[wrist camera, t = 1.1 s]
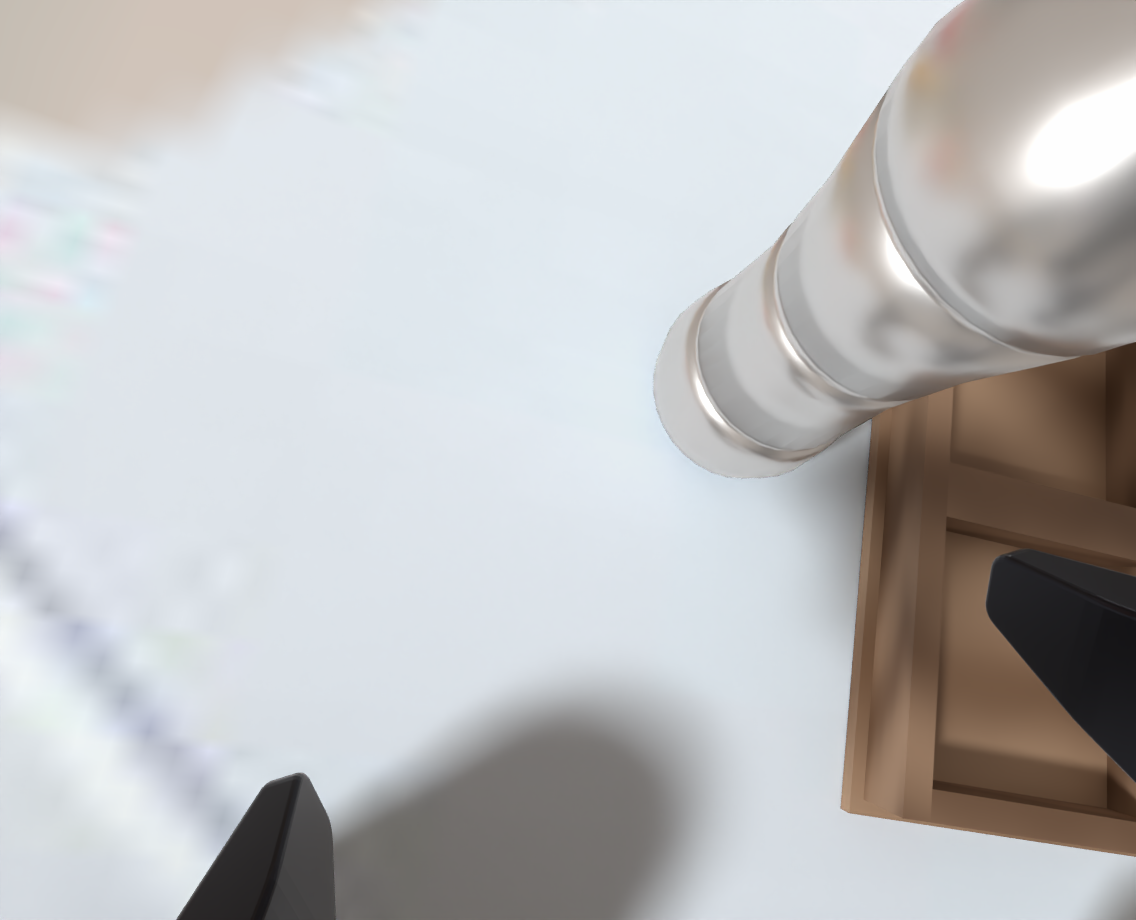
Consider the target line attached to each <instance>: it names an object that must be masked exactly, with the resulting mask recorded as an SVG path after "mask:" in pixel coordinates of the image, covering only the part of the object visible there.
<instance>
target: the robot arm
mask: <svg viewBox="0 0 1136 920" xmlns="http://www.w3.org/2000/svg"><path fill="white" fill-rule="evenodd" d="M985 606H986V611H987V614H988V616H989V618H990V620H991V621H992V623H993V624H994V625H995V627H996V628H997V629H998V630H999V631H1000V633H1001V634H1002V635H1003V636H1004V637H1005V639H1006V640H1007V641H1008V642H1009V643H1010V645H1011V646H1012V647H1013V648H1014V649H1015V651H1016V652H1017V653H1018V654H1019V655H1020V657H1021V658H1022V659H1023V660H1024V661H1025V663H1026V664H1027V665H1028V666H1029V667H1030V669H1031V670H1032V671H1033V672H1034V673H1035V675H1036V676H1037V677H1038V678H1039V680H1040V681H1041V682H1042V683H1043V684H1044V686H1045V687H1046V688H1047V689H1048V690H1049V692H1050V693H1051V694H1052V695H1053V696H1054V698H1055V699H1056V700H1057V701H1058V702H1059V704H1060V705H1061V706H1062V707H1063V708H1064V709H1065V710H1066V712H1067V713H1068V714H1069V715H1070V716H1071V717H1072V718H1073V720H1074V721H1075V722H1076V723H1077V724H1078V725H1079V726H1080V727H1081V728H1082V729H1083V730H1084V731H1085V732H1086V733H1087V734H1088V735H1089V736H1090V737H1091V738H1092V739H1093V741H1094V742H1095V743H1096V744H1097V745H1098V746H1099V747H1100V748H1101V749H1102V750H1103V751H1104V752H1105V753H1106V754H1107V755H1108V756H1109V757H1110V758H1111V759H1112V760H1113V761H1114V762H1115V763H1116V764H1117V765H1118V766H1119V767H1120V768H1121V769H1122V770H1123V771H1124V772H1125V773H1126V774H1127V775H1128V776H1129V777H1130V778H1131V779H1132V780H1133V781H1134V782H1135V783H1136V576H1132V575H1128V574H1125V573H1121V572H1117V571H1113V570H1109V569H1106V568H1102V567H1098V566H1094V565H1091V564H1087V563H1083V562H1079V561H1075V560H1072V559H1068V558H1064V557H1060V556H1056V555H1053V554H1049V553H1045V552H1041V551H1037V550H1034V549H1027V548H1024V549H1018V550H1015V551H1012V552H1009V553H1005V554H1002V555H999V556H998V557H996V558H995V559H994V561H993V562H992V566H991V571H990V577H989V583H988V589H987V595H986V601H985ZM176 920H336V916H335V889H334V863H333V838H332V829H331V824H330V820H329V817H328V815H327V813H326V811H325V809H324V807H323V805H322V803H321V801H320V799H319V797H318V795H317V793H316V791H315V789H314V787H313V785H312V783H311V781H310V779H309V778H308V776H307V775H305V774H304V773H295V774H292V775H289V776H285V777H282V778H279V779H276V780H273V781H270V782H268V783H267V784H266V785H265V786H264V787H263V788H262V789H261V790H260V792H259V793H258V795H257V796H256V798H255V800H254V801H253V803H252V804H251V806H250V807H249V809H248V810H247V812H246V813H245V815H244V816H243V818H242V819H241V821H240V823H239V824H238V826H237V827H236V829H235V830H234V832H233V833H232V835H231V836H230V838H229V839H228V841H227V842H226V844H225V846H224V847H223V849H222V850H221V852H220V853H219V855H218V856H217V858H216V859H215V861H214V862H213V864H212V865H211V867H210V869H209V870H208V872H207V873H206V875H205V876H204V878H203V879H202V881H201V882H200V884H199V885H198V887H197V888H196V890H195V892H194V893H193V895H192V896H191V898H190V899H189V901H188V902H187V904H186V905H185V907H184V908H183V910H182V911H181V913H180V915H179V916H178V918H177V919H176Z"/></svg>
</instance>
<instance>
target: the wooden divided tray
mask: <svg viewBox="0 0 1136 920" xmlns="http://www.w3.org/2000/svg"><path fill="white" fill-rule="evenodd" d="M1024 548H1027V549H1034V550H1037V551H1041V552H1045V553H1049V554H1053V555H1056V556H1060V557H1064V558H1068V559H1072V560H1075V561H1079V562H1083V563H1087V564H1091V565H1094V566H1098V567H1102V568H1106V569H1109V570H1113V571H1117V572H1121V573H1125V574H1128V575H1132V576H1136V342H1134V343H1130V344H1126V345H1123V346H1120V347H1116V348H1113V349H1110V350H1107V351H1104V352H1100V353H1097V354H1094V355H1083V356H1080V357H1077V358H1074V359H1069V360H1065V361H1060V362H1056V363H1051V364H1047V365H1042V366H1038V367H1033V368H1029V369H1024V370H1020V371H1015V372H1011V373H1006V374H1002V375H997V376H993V377H988V378H984V379H979V380H975V381H970V382H966V383H962V384H959V385H956V386H953V387H950V388H947V389H944V390H941V391H939V392H936V393H933V394H930V395H927V396H924V397H921V398H918V399H914V400H912V401H909V402H906V403H903V404H901V405H898V406H895V407H892V408H889V409H887V410H885V411H883V412H882V413H880V414H878V415H876V416H875V417H873V418H872V428H871V441H870V453H869V465H868V478H867V490H866V502H865V515H864V527H863V539H862V552H861V564H860V576H859V588H858V601H857V613H856V625H855V638H854V650H853V662H852V675H851V687H850V699H849V711H848V724H847V736H846V748H845V761H844V773H843V785H842V798H841V809H842V810H844V811H846V812H848V813H852V814H859V815H865V816H872V817H878V818H885V819H891V820H898V821H905V822H911V823H918V824H924V825H931V826H937V827H944V828H950V829H957V830H964V831H970V832H977V833H983V834H990V835H996V836H1003V837H1009V838H1016V839H1023V840H1029V841H1036V842H1042V843H1049V844H1055V845H1062V846H1068V847H1075V848H1082V849H1088V850H1095V851H1101V852H1108V853H1114V854H1121V855H1127V856H1134V857H1136V783H1135V782H1134V781H1133V780H1132V779H1131V778H1130V777H1129V776H1128V775H1127V774H1126V773H1125V772H1124V771H1123V770H1122V769H1121V768H1120V767H1119V766H1118V765H1117V764H1116V763H1115V762H1114V761H1113V760H1112V759H1111V758H1110V757H1109V756H1108V755H1107V754H1106V753H1105V752H1104V751H1103V750H1102V749H1101V748H1100V747H1099V746H1098V745H1097V744H1096V743H1095V742H1094V741H1093V739H1092V738H1091V737H1090V736H1089V735H1088V734H1087V733H1086V732H1085V731H1084V730H1083V729H1082V728H1081V727H1080V726H1079V725H1078V724H1077V723H1076V722H1075V721H1074V720H1073V718H1072V717H1071V716H1070V715H1069V714H1068V713H1067V712H1066V710H1065V709H1064V708H1063V707H1062V706H1061V705H1060V704H1059V702H1058V701H1057V700H1056V699H1055V698H1054V696H1053V695H1052V694H1051V693H1050V692H1049V690H1048V689H1047V688H1046V687H1045V686H1044V684H1043V683H1042V682H1041V681H1040V680H1039V678H1038V677H1037V676H1036V675H1035V673H1034V672H1033V671H1032V670H1031V669H1030V667H1029V666H1028V665H1027V664H1026V663H1025V661H1024V660H1023V659H1022V658H1021V657H1020V655H1019V654H1018V653H1017V652H1016V651H1015V649H1014V648H1013V647H1012V646H1011V645H1010V643H1009V642H1008V641H1007V640H1006V639H1005V637H1004V636H1003V635H1002V634H1001V633H1000V631H999V630H998V629H997V628H996V627H995V625H994V624H993V623H992V621H991V620H990V618H989V616H988V614H987V611H986V606H985V601H986V595H987V589H988V583H989V577H990V571H991V566H992V562H993V561H994V559H995V558H996V557H998V556H999V555H1002V554H1005V553H1009V552H1012V551H1015V550H1018V549H1024Z"/></svg>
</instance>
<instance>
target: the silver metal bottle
mask: <svg viewBox="0 0 1136 920" xmlns="http://www.w3.org/2000/svg"><path fill="white" fill-rule="evenodd" d="M1134 342H1136V0H964V1H963V2H961V3H960V4H959V5H957V6H956V7H955V8H953V9H952V10H951V11H950V12H949V13H947V14H946V15H945V16H944V17H943V18H942V19H940V20H939V21H938V22H937V23H936V24H935V25H934V27H933V28H932V29H931V31H930V32H929V33H928V35H927V36H926V37H925V39H924V40H923V41H922V43H921V44H920V45H919V46H918V48H917V49H916V50H915V51H914V53H913V54H912V55H911V56H910V58H909V59H908V60H907V62H906V63H905V64H904V65H903V67H902V68H901V70H900V71H899V73H898V74H897V76H896V77H895V79H894V80H893V82H892V83H891V85H890V86H889V88H888V90H887V91H886V93H885V94H884V96H883V97H882V99H881V100H880V102H879V103H878V105H877V106H876V108H875V109H874V111H873V112H872V114H871V115H870V117H869V118H868V120H867V121H866V123H865V124H864V126H863V127H862V129H861V130H860V132H859V133H858V135H857V136H856V138H855V139H854V141H853V142H852V144H851V145H850V147H849V148H848V150H847V151H846V153H845V154H844V156H843V157H842V159H841V160H840V162H839V164H838V165H837V167H836V168H835V170H834V171H833V173H832V174H831V176H830V177H829V178H828V179H827V181H826V182H825V183H824V184H823V185H822V187H821V188H820V189H819V190H818V191H817V193H816V194H815V195H814V196H813V197H812V199H811V200H810V201H809V202H808V203H807V205H806V206H805V207H804V208H803V209H802V211H801V212H800V213H799V214H798V216H797V217H796V219H795V220H794V222H793V223H792V224H791V225H790V226H788V228H787V229H786V230H785V231H784V232H783V234H782V235H781V236H780V237H779V238H778V240H777V241H776V242H775V243H774V245H772V246H771V247H770V248H769V249H768V250H766V251H765V252H764V253H763V254H762V255H760V256H759V257H758V258H757V259H756V260H754V261H753V262H752V263H751V264H750V265H748V266H747V267H746V268H745V269H744V270H742V271H741V272H740V273H739V274H738V275H736V276H735V277H734V278H733V279H731V280H729V281H727V282H725V283H723V284H722V285H720V286H718V287H716V288H714V289H712V290H711V291H709V292H708V293H706V294H705V295H704V296H702V297H701V298H699V299H698V300H697V301H695V302H694V303H693V304H691V305H690V306H689V307H688V308H687V309H686V310H685V311H683V312H682V313H681V314H680V315H679V317H678V318H677V319H676V321H675V322H674V324H673V325H672V326H671V328H670V330H669V332H668V334H667V337H666V339H665V341H664V344H663V346H662V349H661V351H660V353H659V356H658V358H657V360H656V365H655V370H654V375H653V394H654V399H655V404H656V410H657V412H658V415H659V417H660V420H661V423H662V425H663V427H664V429H665V430H666V432H667V434H668V435H669V437H670V439H671V440H672V442H673V443H674V444H675V445H676V446H677V447H678V449H679V450H680V451H681V452H682V453H683V454H684V455H685V456H686V457H688V458H689V459H690V460H691V461H693V462H694V463H695V464H696V465H698V466H700V467H702V468H704V469H706V470H708V471H709V472H711V473H715V474H718V475H721V476H724V477H730V478H741V479H747V478H766V477H774V476H779V475H782V474H784V473H787V472H790V471H792V470H794V469H796V468H798V467H799V466H801V465H802V464H804V463H805V462H807V461H808V460H810V459H811V458H813V457H814V456H816V455H817V454H819V453H820V452H822V451H823V450H825V449H826V448H827V447H828V446H830V445H831V444H832V443H833V442H834V441H835V440H836V439H837V438H838V437H839V436H841V435H843V434H844V433H846V432H848V431H850V430H852V429H853V428H855V427H857V426H859V425H860V424H862V423H864V422H866V421H867V420H869V419H871V418H873V417H875V416H876V415H878V414H880V413H882V412H883V411H885V410H887V409H889V408H892V407H895V406H898V405H901V404H903V403H906V402H909V401H912V400H914V399H918V398H921V397H924V396H927V395H930V394H933V393H936V392H939V391H941V390H944V389H947V388H950V387H953V386H956V385H959V384H962V383H966V382H970V381H975V380H979V379H984V378H988V377H993V376H997V375H1002V374H1006V373H1011V372H1015V371H1020V370H1024V369H1029V368H1033V367H1038V366H1042V365H1047V364H1051V363H1056V362H1060V361H1065V360H1069V359H1074V358H1077V357H1080V356H1083V355H1094V354H1097V353H1100V352H1104V351H1107V350H1110V349H1113V348H1116V347H1120V346H1123V345H1126V344H1130V343H1134Z"/></svg>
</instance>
